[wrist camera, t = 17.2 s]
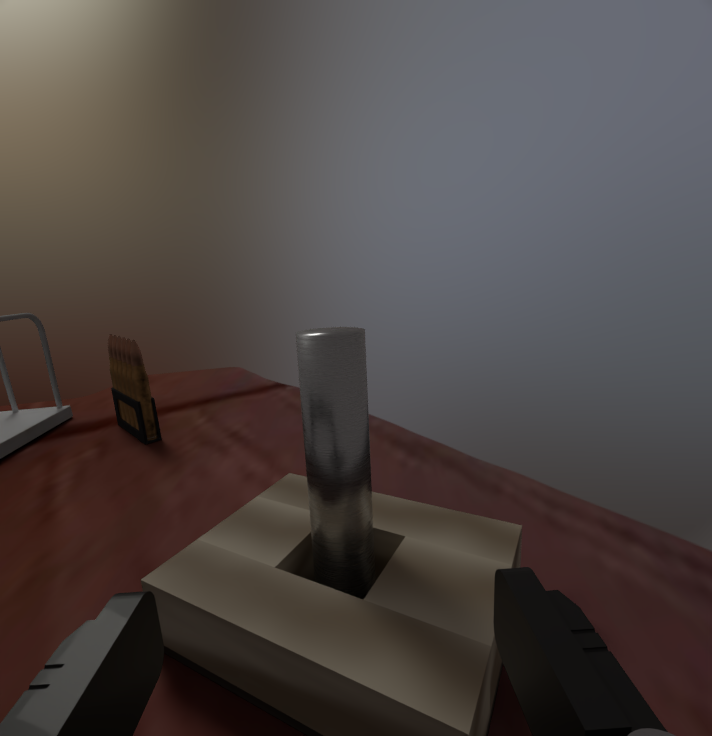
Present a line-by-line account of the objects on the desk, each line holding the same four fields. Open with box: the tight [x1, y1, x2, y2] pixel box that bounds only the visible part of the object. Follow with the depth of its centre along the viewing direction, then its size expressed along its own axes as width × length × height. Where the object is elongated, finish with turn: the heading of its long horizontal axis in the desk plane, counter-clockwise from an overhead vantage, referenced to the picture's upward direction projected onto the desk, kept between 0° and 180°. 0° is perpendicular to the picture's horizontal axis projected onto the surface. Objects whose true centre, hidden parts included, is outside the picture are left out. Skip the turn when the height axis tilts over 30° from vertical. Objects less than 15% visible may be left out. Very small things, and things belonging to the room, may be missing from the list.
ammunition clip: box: [108, 334, 162, 444], centre depth 51 cm, size 11×2×12 cm, turn 44°
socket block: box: [141, 473, 522, 736], centre depth 22 cm, size 12×16×4 cm
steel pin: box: [296, 327, 376, 600], centre depth 21 cm, size 3×3×15 cm
